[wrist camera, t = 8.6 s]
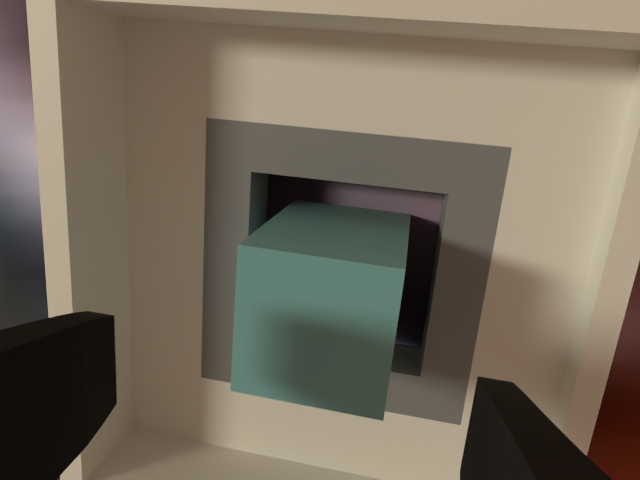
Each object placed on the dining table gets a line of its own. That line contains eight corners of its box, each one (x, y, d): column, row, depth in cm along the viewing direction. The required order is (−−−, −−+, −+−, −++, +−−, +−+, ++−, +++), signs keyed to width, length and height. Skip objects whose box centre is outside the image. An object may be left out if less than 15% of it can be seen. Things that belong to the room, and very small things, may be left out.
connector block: (395, 322, 18) (383, 420, 13) (287, 304, 19) (230, 390, 13) (410, 214, 17) (405, 269, 12) (296, 199, 18) (238, 244, 12)
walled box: (538, 491, 19) (576, 621, 14) (141, 412, 22) (61, 499, 17) (650, 30, 15) (761, -5, 10) (133, -1, 17) (23, -40, 12)
